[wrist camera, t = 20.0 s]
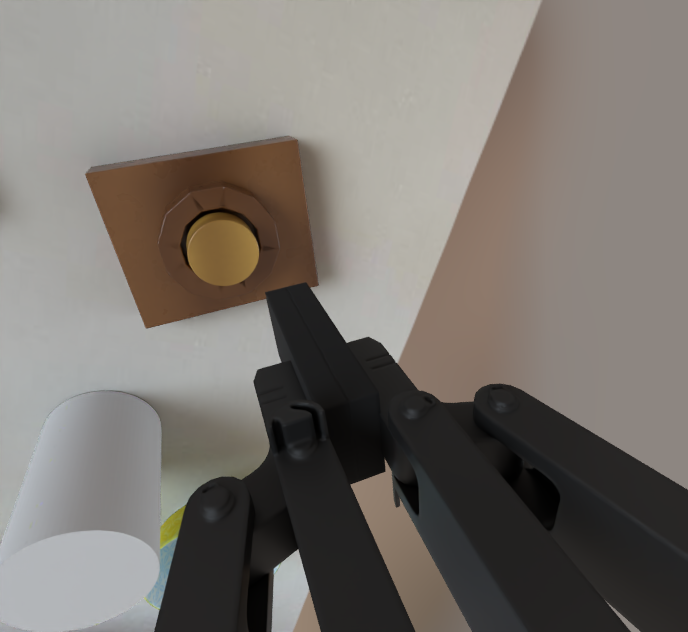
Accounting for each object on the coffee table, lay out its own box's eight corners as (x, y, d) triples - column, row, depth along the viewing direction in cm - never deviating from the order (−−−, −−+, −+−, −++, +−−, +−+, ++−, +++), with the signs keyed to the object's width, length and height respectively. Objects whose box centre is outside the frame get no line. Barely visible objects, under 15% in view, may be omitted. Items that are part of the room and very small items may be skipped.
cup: (18, 455, 32) (-49, 625, 22) (79, 374, 31) (37, 515, 21) (125, 484, 36) (110, 637, 26) (182, 414, 35) (188, 547, 25)
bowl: (177, 451, 36) (178, 511, 31) (291, 474, 42) (308, 528, 37) (121, 545, 39) (114, 615, 34) (236, 555, 45) (245, 616, 40)
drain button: (246, 206, 26) (251, 213, 24) (260, 267, 28) (265, 277, 26) (177, 219, 25) (178, 228, 23) (196, 282, 27) (198, 293, 25)
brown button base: (289, 135, 28) (305, 142, 25) (310, 274, 33) (326, 295, 30) (90, 167, 25) (79, 180, 22) (147, 314, 30) (144, 342, 27)
